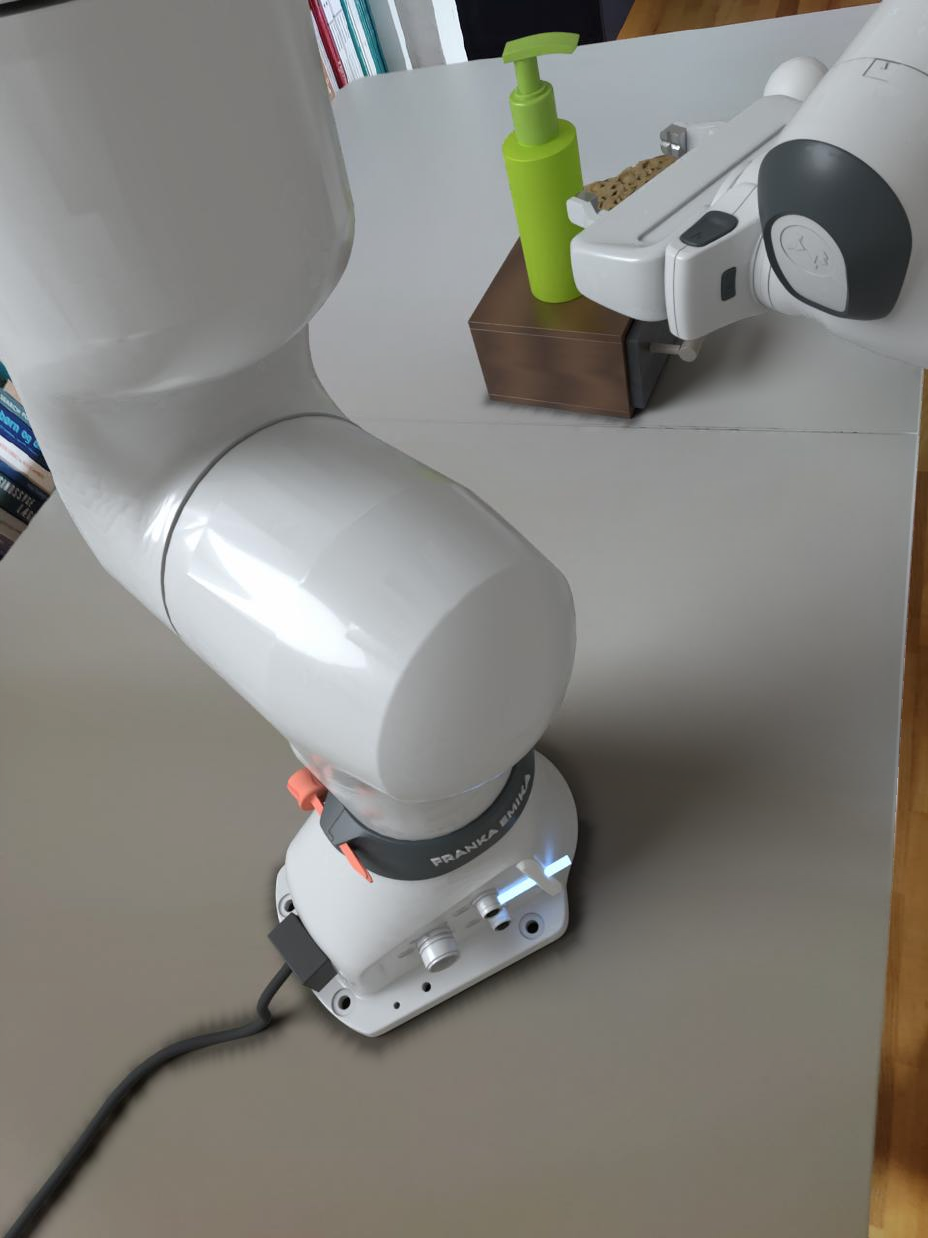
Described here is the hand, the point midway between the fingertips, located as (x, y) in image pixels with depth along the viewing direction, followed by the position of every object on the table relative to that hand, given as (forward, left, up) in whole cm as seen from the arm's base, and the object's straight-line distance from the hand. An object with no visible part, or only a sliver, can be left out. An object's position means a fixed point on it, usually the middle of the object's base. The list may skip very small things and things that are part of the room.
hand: (621, 169), depth 62 cm
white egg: (+41, +21, -23) cm, 52 cm away
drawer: (+1, +5, -22) cm, 22 cm away
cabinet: (-1, +9, -23) cm, 24 cm away
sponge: (+18, +19, -23) cm, 35 cm away
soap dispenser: (0, +8, -13) cm, 16 cm away
